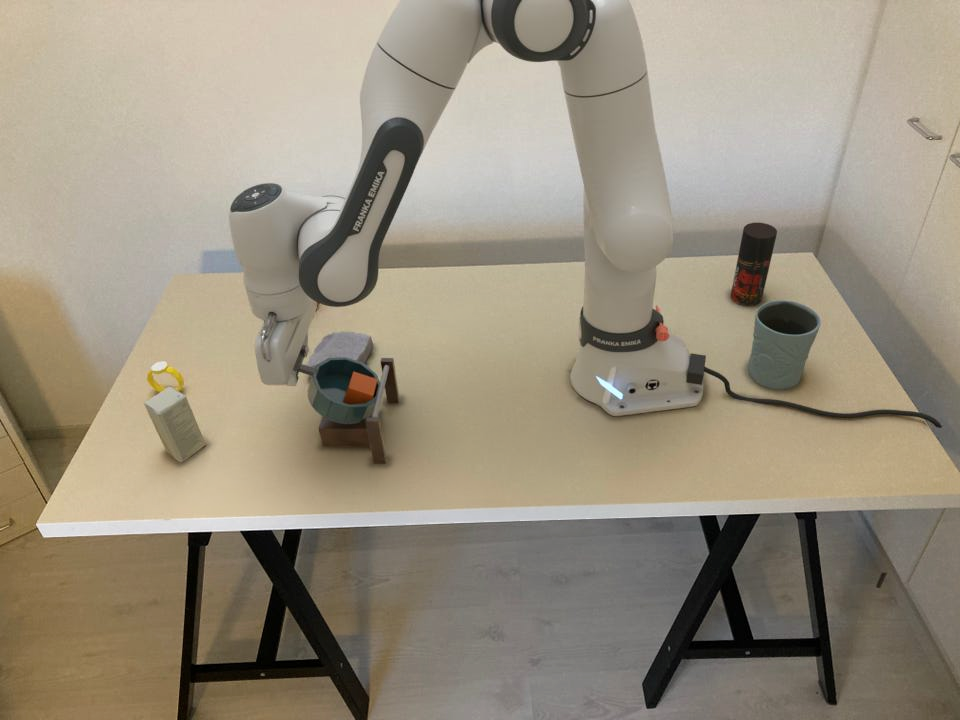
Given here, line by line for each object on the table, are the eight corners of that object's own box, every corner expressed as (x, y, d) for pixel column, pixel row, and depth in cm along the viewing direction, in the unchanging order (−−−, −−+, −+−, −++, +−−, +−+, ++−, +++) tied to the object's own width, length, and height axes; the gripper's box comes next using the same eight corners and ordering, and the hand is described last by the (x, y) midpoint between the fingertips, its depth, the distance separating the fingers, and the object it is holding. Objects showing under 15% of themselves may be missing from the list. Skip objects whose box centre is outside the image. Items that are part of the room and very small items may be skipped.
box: (191, 434, 128) (172, 384, 121) (207, 445, 125) (187, 394, 118) (164, 452, 124) (142, 402, 117) (179, 464, 122) (158, 413, 115)
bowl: (382, 384, 128) (390, 365, 126) (369, 437, 119) (377, 417, 116) (294, 356, 126) (300, 336, 123) (274, 407, 116) (280, 387, 113)
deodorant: (724, 292, 152) (737, 226, 143) (750, 286, 154) (765, 220, 144) (741, 308, 148) (755, 241, 138) (768, 302, 149) (783, 234, 140)
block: (370, 396, 125) (377, 379, 122) (366, 413, 121) (373, 395, 119) (347, 388, 124) (353, 371, 121) (342, 405, 121) (348, 387, 118)
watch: (189, 387, 137) (179, 361, 133) (183, 397, 135) (173, 371, 131) (157, 385, 138) (147, 360, 134) (151, 396, 136) (140, 370, 132)
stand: (399, 398, 132) (393, 357, 126) (385, 463, 120) (378, 421, 115) (337, 398, 133) (328, 357, 127) (317, 462, 121) (306, 421, 115)
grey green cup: (751, 392, 129) (764, 336, 122) (737, 355, 137) (749, 299, 130) (812, 391, 129) (829, 335, 121) (794, 354, 137) (810, 298, 129)
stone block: (307, 389, 138) (357, 386, 135) (298, 368, 135) (349, 364, 132) (331, 350, 147) (378, 347, 144) (322, 330, 144) (370, 326, 141)
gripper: (282, 338, 102) (301, 414, 111) (317, 257, 118) (331, 329, 127) (236, 338, 103) (259, 414, 111) (276, 257, 118) (294, 329, 127)
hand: (297, 368), depth 119 cm, fingers closed on bowl, 5 cm apart
